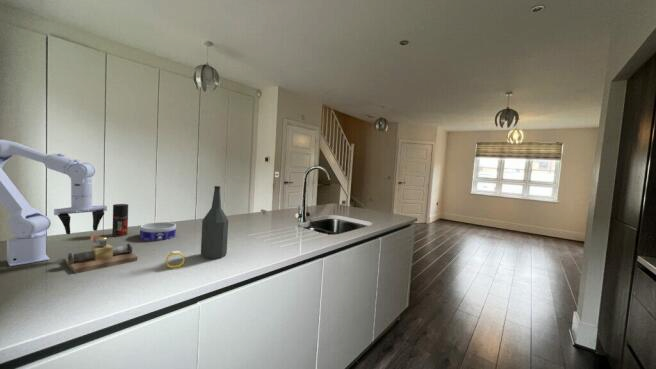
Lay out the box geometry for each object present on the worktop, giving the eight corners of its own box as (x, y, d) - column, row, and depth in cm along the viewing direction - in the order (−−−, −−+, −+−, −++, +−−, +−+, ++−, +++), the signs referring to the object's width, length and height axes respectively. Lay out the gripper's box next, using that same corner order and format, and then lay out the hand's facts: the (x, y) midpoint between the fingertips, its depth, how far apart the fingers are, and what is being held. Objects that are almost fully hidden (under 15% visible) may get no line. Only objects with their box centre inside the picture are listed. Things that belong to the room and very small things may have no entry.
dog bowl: (172, 232, 147) (172, 221, 147) (178, 239, 136) (179, 227, 135) (138, 234, 138) (138, 223, 137) (141, 242, 126) (142, 230, 126)
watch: (183, 265, 105) (185, 250, 105) (183, 268, 102) (185, 252, 102) (165, 266, 102) (167, 250, 101) (165, 269, 99) (167, 253, 99)
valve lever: (107, 246, 102) (108, 238, 101) (99, 247, 100) (99, 239, 99) (98, 239, 108) (98, 232, 108) (89, 240, 106) (89, 233, 106)
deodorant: (114, 237, 130) (115, 206, 129) (110, 234, 134) (111, 204, 133) (129, 235, 135) (130, 205, 134) (125, 232, 139) (125, 203, 138)
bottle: (216, 261, 111) (220, 187, 109) (195, 257, 113) (199, 185, 111) (230, 253, 121) (234, 186, 119) (211, 250, 123) (214, 184, 121)
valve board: (74, 273, 90) (75, 257, 90) (64, 262, 99) (64, 247, 98) (137, 260, 105) (137, 246, 105) (123, 251, 113) (124, 238, 113)
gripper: (57, 198, 92) (57, 237, 93) (109, 195, 104) (109, 230, 105) (52, 195, 96) (52, 233, 97) (103, 193, 108) (103, 227, 109)
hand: (81, 231), depth 102 cm, fingers open, 7 cm apart
